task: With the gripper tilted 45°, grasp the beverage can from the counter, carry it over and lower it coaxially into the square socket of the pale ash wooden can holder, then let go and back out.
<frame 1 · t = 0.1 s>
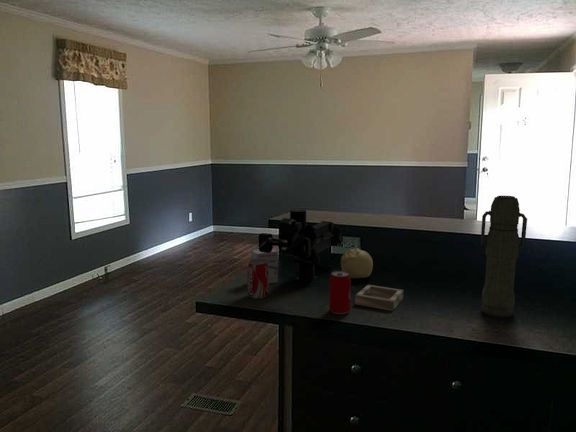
hand: (271, 250, 149), 17 cm above the countertop, tool horizontal, fingers open, 9 cm apart
can holder: (379, 301, 151), on the countertop
beverage can: (339, 312, 143), on the countertop
soda can: (258, 296, 156), on the countertop
sculpture: (356, 277, 178), on the countertop
thermos: (497, 312, 142), on the countertop
ink box: (264, 282, 171), on the countertop
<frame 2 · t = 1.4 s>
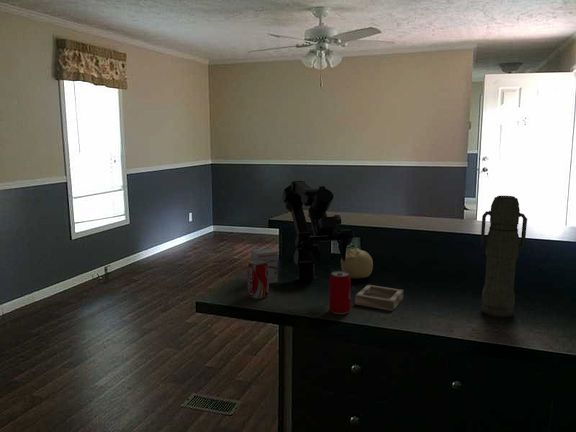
hand: (330, 261, 148), 14 cm above the countertop, tool tilted 45°, fingers open, 9 cm apart
nothing on the countertop moved.
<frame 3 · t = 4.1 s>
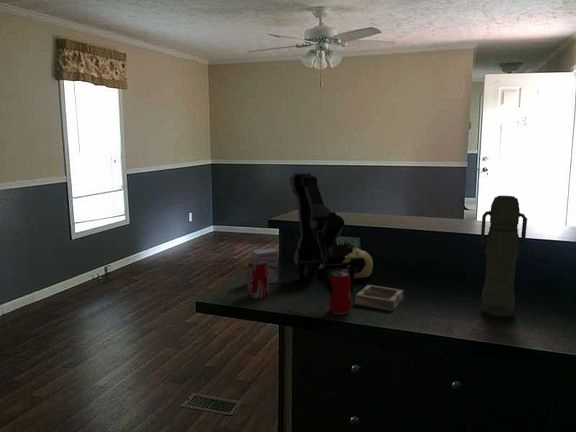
hand: (341, 292, 140), 7 cm above the countertop, tool tilted 45°, fingers closed on beverage can, 6 cm apart
beverage can: (339, 312, 143), on the countertop, touching gripper
everything else where it was.
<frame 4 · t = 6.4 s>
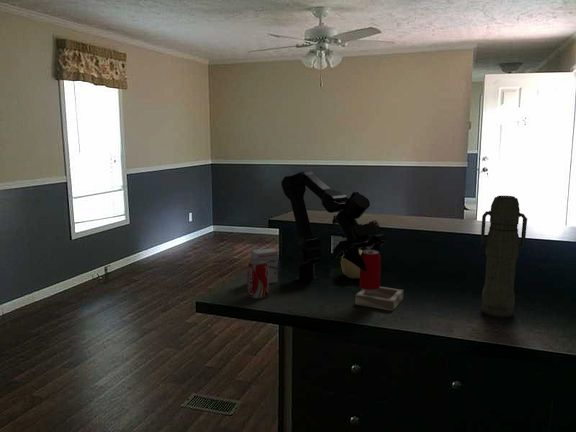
hand: (373, 268, 144), 12 cm above the countertop, tool tilted 45°, fingers closed on beverage can, 6 cm apart
beverage can: (369, 289, 147), point 5 cm above the countertop, touching gripper
everything else where it was.
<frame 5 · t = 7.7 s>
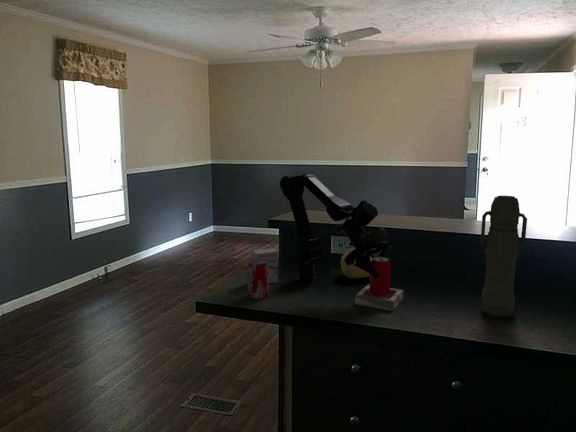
hand: (383, 274, 149), 9 cm above the countertop, tool tilted 45°, fingers closed on beverage can, 6 cm apart
beverage can: (379, 295, 151), point 2 cm above the countertop, touching gripper
everything else where it was.
when the fingers open (8 cm above the countertop, at t = 8.9 s): beverage can stays where it is, resting on can holder.
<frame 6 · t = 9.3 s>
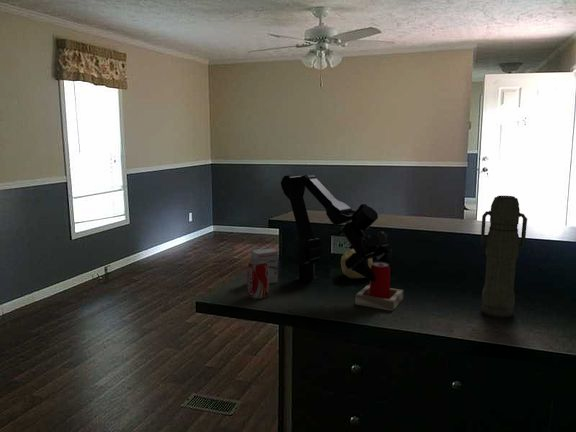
hand: (384, 278, 149), 8 cm above the countertop, tool tilted 45°, fingers open, 9 cm apart
beverage can: (379, 300, 151), resting on can holder
everything else where it was.
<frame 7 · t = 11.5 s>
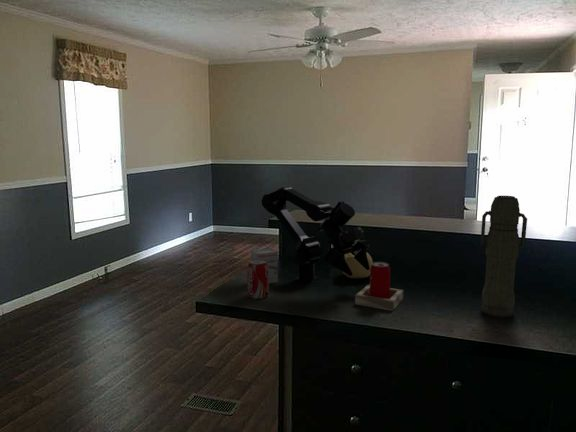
hand: (360, 272, 155), 8 cm above the countertop, tool tilted 45°, fingers open, 9 cm apart
nothing on the countertop moved.
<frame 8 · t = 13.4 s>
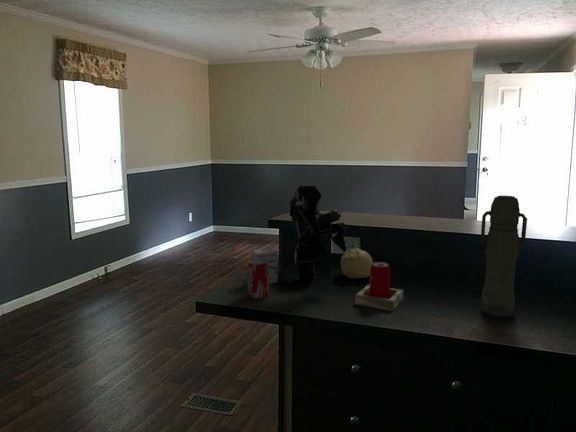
hand: (336, 253, 157), 14 cm above the countertop, tool tilted 45°, fingers open, 9 cm apart
nothing on the countertop moved.
at the end: beverage can 0.1 cm off-centre on the can holder, point 0.2 cm above the can holder's base; beverage can tilted 0°; the gripper is holding nothing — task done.
